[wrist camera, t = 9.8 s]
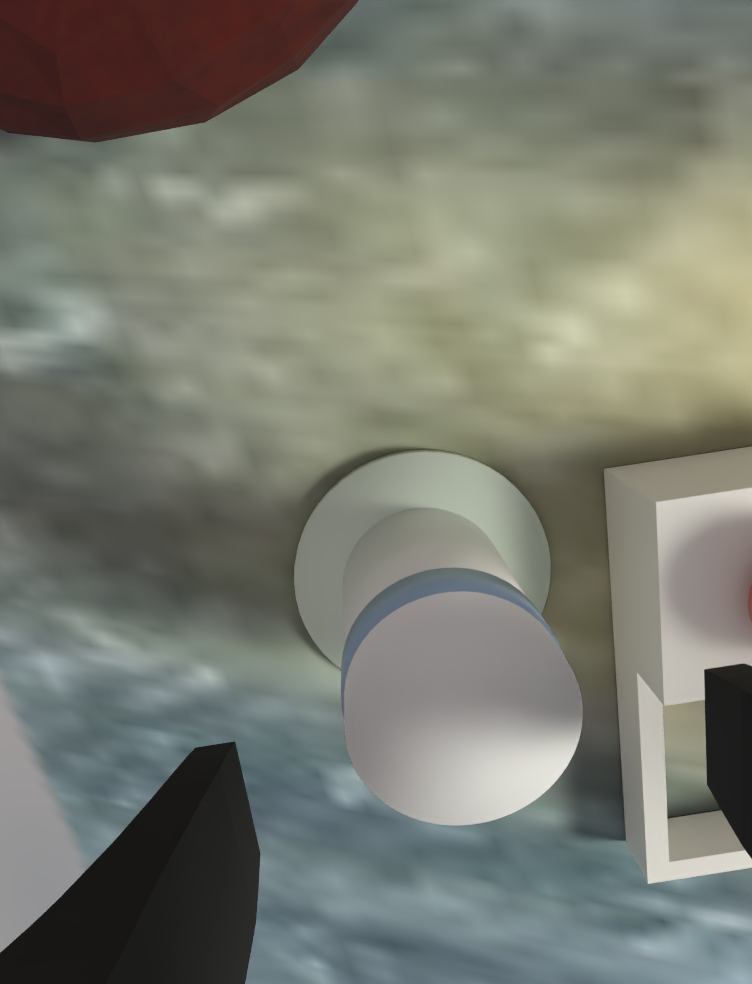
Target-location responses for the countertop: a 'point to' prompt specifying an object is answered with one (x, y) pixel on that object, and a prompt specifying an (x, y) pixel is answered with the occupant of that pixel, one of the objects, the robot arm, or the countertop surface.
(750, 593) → the plunger
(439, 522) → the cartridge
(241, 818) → the robot arm
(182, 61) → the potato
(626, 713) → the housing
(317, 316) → the countertop surface
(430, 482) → the pale green dome
